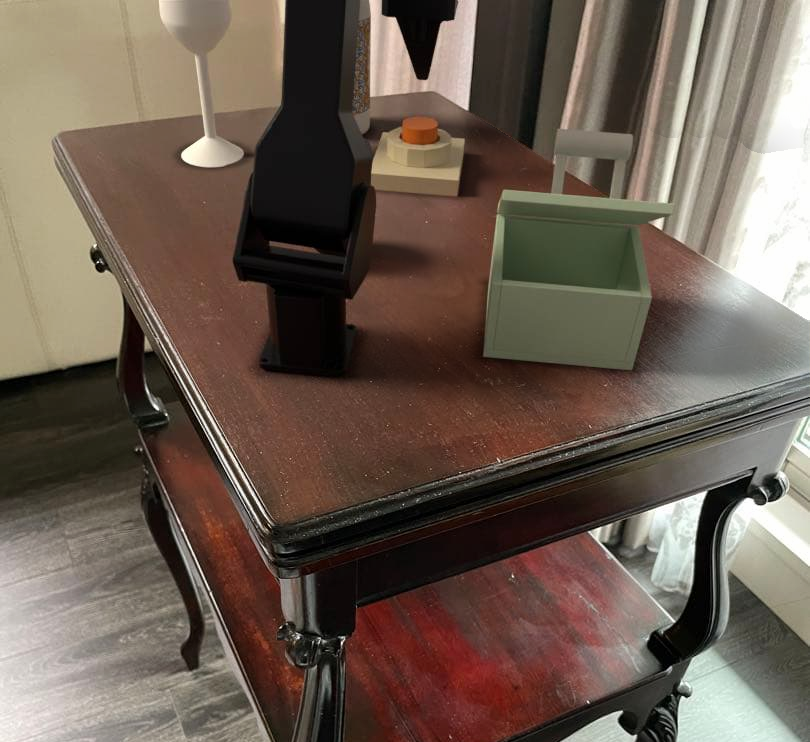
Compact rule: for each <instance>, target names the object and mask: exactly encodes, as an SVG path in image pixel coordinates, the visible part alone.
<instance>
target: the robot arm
mask: <svg viewBox="0 0 810 742" xmlns="http://www.w3.org/2000/svg"><path fill="white" fill-rule="evenodd" d="M458 5H459V0H381V16H383V17H386V18H393V19H394V18H395V20H396V23H397V25H398V28H399V31H400V34H401V37H402V40H403V42H404V45H405V48H406V52H407V54H408V58H409V60H410V63H411V66H412V69H413V72H414V75H415V78H416V79H417V81H427V80H428V79H429V77H430V73H431V68H432V65H433V64H432V63H433V60H434V55H435V51H436V46H437V42H438V38H439V33H440V29H441V24H442V23H443V22H451V21H455V19H456V14H457V9H458ZM359 12H360V0H285V2H284V25H283V26H284V28H283V51H282V53H283V54H282V55H283V56H282V80H281V81H282V82H281V98H280V99H281V101H280V105H279V107H278V108H277V110H276V112H275V114H274V115H273V117H272V119H270V122H269V123H268V124H267V127H266V128H265V130H264V131H263V133H262V134H261V137H260V138H259V139H258V140H257V143H256V145H255V147H254V155H253V156H254V157H253V166H252V167H253V168H252V169H253V170H252V172H251V174H250V176H249V178H248V182H247V185H246V190H245V191H244V197H243V204H242V210H241V217H240V220H239V225H238V226H239V227H238V230H237V235H236V240H235V244H234V250H233V255H232V264H233V268H234V271H235V273H236V277H237V280H238V281H239V282H245V283H247V282H251V283H257V284H258V283H259V284H264V285H265V287H266V299H267V312H268V322H269V334H268V336H267V338H266V341H265V343H264V346H263V349H262V350H261V353H260V356H259V359H258V367H259V368H260V369H263V370H271V371H279V372H280V371H282V372H293V373H302V374H311V375H324V376H333V377H335V376H336V377H342V376H344V375H345V374H346V373H347V369H348V366H349V362H350V358H351V354H352V352H353V347H354V344H355V340H356V336H357V333H358V332H357V331H358V330H357V329H358V328H357V326H356V325H355V324H352V323H347V300H351V301H352V300H353V299H354V298H355V296H356V294H357V293H358V291H359V289H360V288H361V286H362V284H363V282H364V281H365V279H366V278H367V276H368V274H369V273H370V270H371V263H372V253H373V244H374V234H375V223H376V214H377V213H376V212H377V193H376V190H375V188H374V186H371V171H372V163H373V159H374V151H373V148H372V145H371V142H370V140H369V139H367V138H364V136H363V134H361V131H360V129H359V127H358V125H357V122H356V120H355V118H354V115H353V112H352V110H353V93H354V79H355V66H356V52H357V39H358V25H359ZM270 242H273V243H279V244H285V245H293V246H300V247H305V248H310V249H314V248H317V249H323V250H329V251H336V252H342V253H347V254H346V258H345V257H339V256H333V255H326V254H321V253H319V252H313V251H306V250H301V249H294V248H288V247H283V246H276V245H270Z"/></svg>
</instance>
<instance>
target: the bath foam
mask: <svg viewBox="0 0 810 742" xmlns="http://www.w3.org/2000/svg"><path fill="white" fill-rule="evenodd" d="M371 20H372V13H371V3H370V0H360V12H359V25H358V39H357V52H356V66H355V79H354V93H353V110H352V112H353V115H354V118H355V120H356V122H357V125H358V127H359V129H360V131H361V134H362V135H364V134H366V133H367V132H368V130H369V129H370V125H371V52H372V51H371V49H372V48H371V44H372V43H371V40H372V39H371V38H372V35H371V31H372V29H371V28H372V27H371V26H372V21H371Z"/></svg>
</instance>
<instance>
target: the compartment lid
mask: <svg viewBox="0 0 810 742" xmlns="http://www.w3.org/2000/svg"><path fill="white" fill-rule="evenodd" d="M633 144H634V135H633V134H631V133H620V132H619V133H618V132H607V131H595V130H594V131H593V130H582V129H568V128H557V129H556V132H555V138H554V145H553V146H554V147H553V155H554V156H555V160H554V167H553V175H552V184H551V191H550V192H539V191H538V192H537V191H527V190H515V189H514V190H513V189H503V190H502V193H501V195H500V198H499V201H498V204H497V210H496V213H497V214H503V215H516V216H528V217H540V218H551V219H563V220H575V221H587V222H599V223H611V224H623V225H629V226H630V225H634V226H639V225H643V224H647V223H650V222H653V221H657V220H660V219H663V218H666V217H669V216H673V215H674V211H675V206H676V204H675V203H669V202H657V201H646V200H637V199H636V200H635V199H622V193H623V187H624V183H625V182H624V181H625V174H626V168H627V161H629V160H630V158H631V154H632V150H633ZM568 157H576V158H577V157H578V158H590V159H591V158H592V159H601V160H614V164H613V171H612V179H611V184H610V193H609V197H601V196H600V197H598V196H587V195H576V194H575V195H574V194H563V189H564V182H565V175H566V166H567V160H568Z"/></svg>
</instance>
